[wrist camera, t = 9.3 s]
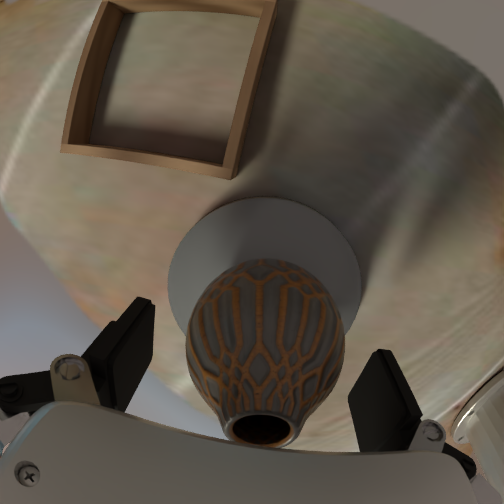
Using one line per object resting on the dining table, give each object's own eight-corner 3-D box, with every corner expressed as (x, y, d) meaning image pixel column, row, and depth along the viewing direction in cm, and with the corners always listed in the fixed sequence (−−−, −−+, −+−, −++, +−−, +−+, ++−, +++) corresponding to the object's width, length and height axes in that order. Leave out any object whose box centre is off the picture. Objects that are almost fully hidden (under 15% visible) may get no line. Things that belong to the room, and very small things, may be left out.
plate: (381, 225, 15) (388, 230, 14) (320, 373, 19) (322, 384, 18) (189, 176, 15) (182, 178, 14) (167, 340, 19) (161, 350, 18)
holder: (277, 13, 12) (277, -5, 10) (235, 176, 15) (230, 180, 13) (120, 8, 12) (104, -5, 9) (81, 151, 15) (60, 152, 13)
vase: (328, 236, 14) (391, 335, 6) (327, 345, 17) (355, 468, 8) (195, 247, 15) (119, 348, 7) (216, 352, 17) (184, 473, 9)
